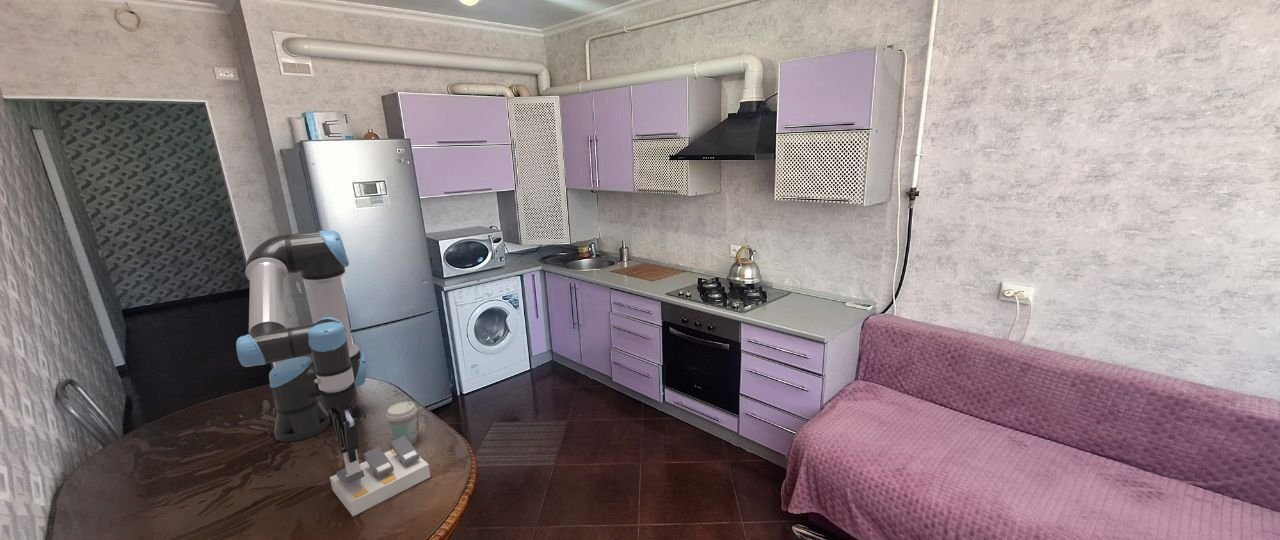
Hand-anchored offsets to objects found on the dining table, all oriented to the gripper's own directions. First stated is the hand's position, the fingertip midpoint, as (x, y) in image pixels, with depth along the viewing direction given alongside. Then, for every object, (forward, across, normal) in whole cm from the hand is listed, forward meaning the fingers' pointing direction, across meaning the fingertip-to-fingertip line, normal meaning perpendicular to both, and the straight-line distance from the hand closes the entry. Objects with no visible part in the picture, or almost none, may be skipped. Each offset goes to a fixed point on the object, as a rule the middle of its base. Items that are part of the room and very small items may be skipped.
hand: (353, 470), depth 129 cm
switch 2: (+4, -4, +7) cm, 9 cm away
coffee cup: (+10, -18, +20) cm, 29 cm away
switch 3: (+4, -4, +14) cm, 15 cm away
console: (+10, -4, +7) cm, 12 cm away
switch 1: (+4, -4, 0) cm, 5 cm away
